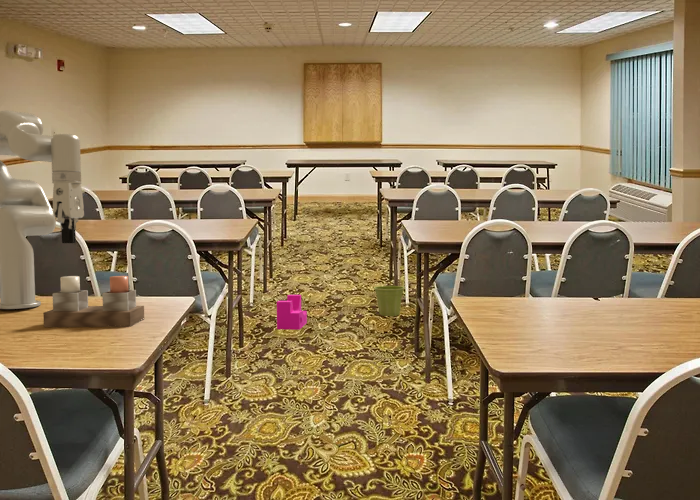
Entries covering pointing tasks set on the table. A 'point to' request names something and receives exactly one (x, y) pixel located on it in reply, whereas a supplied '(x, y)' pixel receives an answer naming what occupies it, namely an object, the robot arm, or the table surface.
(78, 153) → the robot arm
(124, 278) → the plunger salmon pink
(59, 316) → the button box
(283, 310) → the toy block
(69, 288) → the plunger white
